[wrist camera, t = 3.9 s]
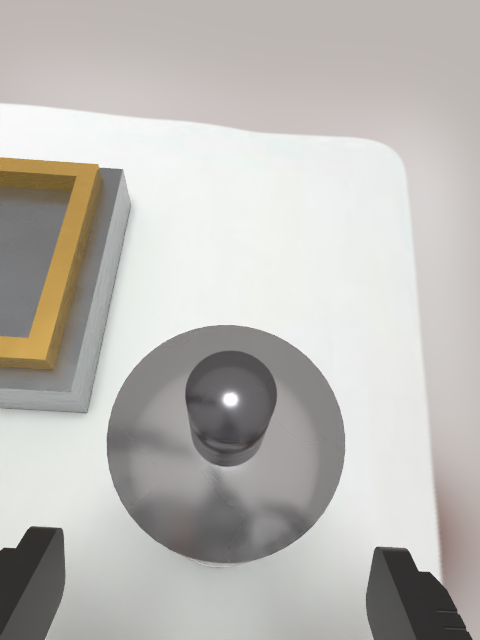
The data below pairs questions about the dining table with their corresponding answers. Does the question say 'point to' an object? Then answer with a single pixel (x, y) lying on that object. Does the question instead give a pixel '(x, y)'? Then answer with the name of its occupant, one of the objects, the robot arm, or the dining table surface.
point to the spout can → (225, 444)
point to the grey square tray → (56, 278)
